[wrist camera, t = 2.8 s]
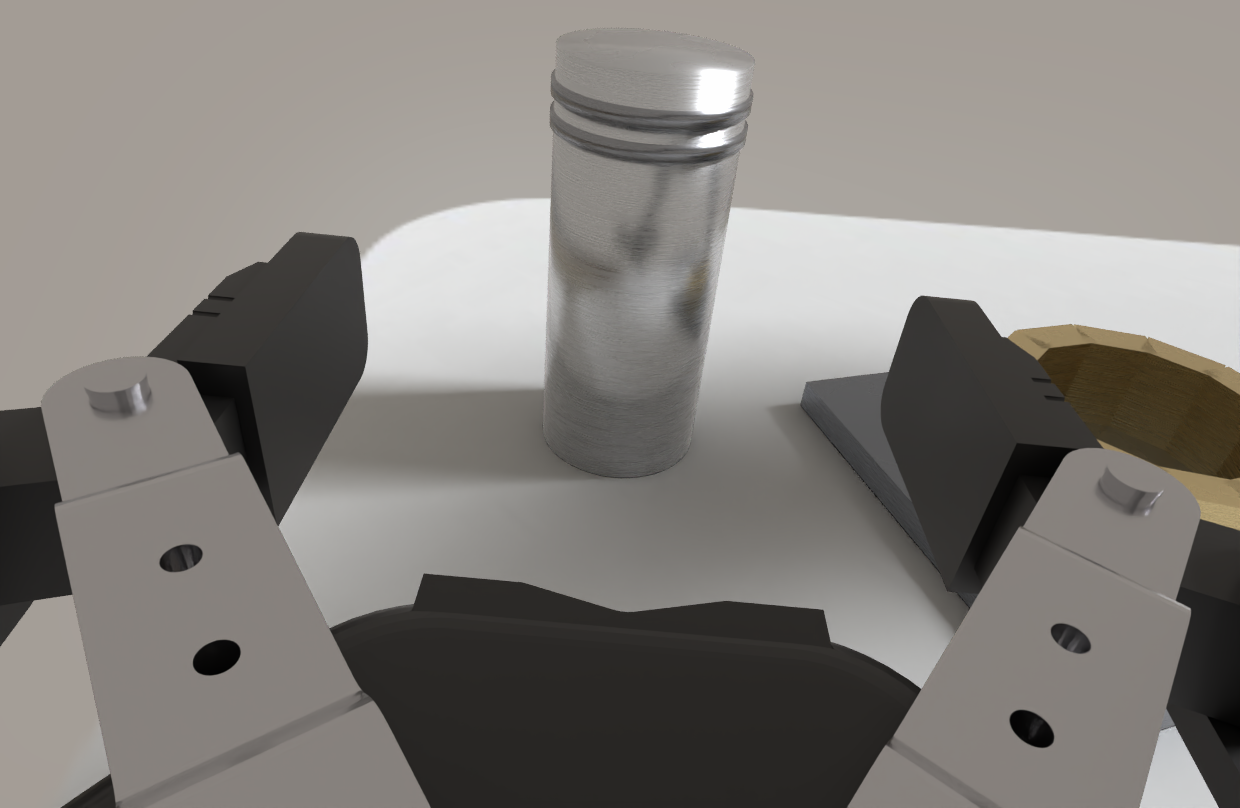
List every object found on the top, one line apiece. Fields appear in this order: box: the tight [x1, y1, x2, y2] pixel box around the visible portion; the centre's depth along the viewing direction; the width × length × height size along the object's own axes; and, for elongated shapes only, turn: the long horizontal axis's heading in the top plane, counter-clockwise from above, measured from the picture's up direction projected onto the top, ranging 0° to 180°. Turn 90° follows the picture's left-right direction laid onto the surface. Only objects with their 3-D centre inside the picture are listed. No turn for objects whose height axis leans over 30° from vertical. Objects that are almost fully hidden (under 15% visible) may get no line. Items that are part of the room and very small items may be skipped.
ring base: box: [801, 324, 1240, 730], centre depth 25 cm, size 14×14×4 cm
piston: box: [543, 28, 755, 478], centre depth 24 cm, size 5×5×12 cm
